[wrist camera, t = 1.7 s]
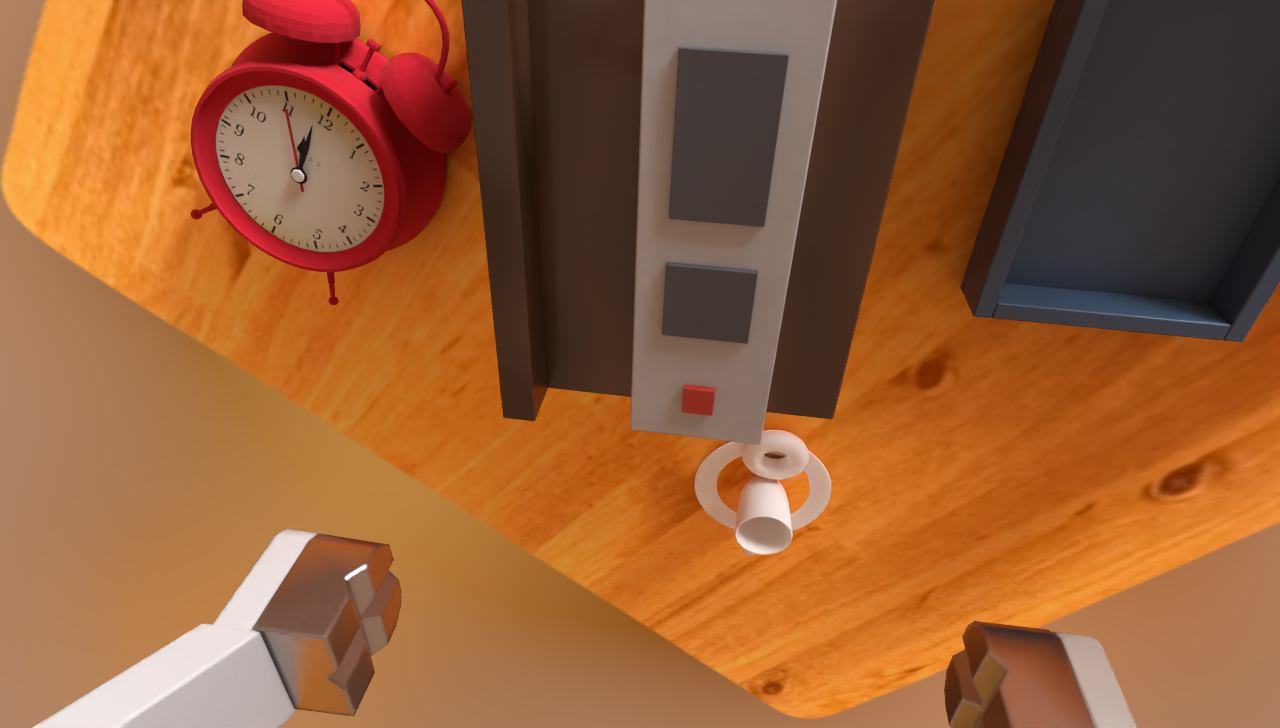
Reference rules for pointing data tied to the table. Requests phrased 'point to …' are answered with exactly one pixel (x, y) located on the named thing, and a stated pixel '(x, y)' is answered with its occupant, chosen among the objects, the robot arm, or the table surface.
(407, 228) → the alarm clock
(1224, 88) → the tray
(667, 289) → the remote
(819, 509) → the white piece
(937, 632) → the table surface
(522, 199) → the shelf
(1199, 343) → the table surface
